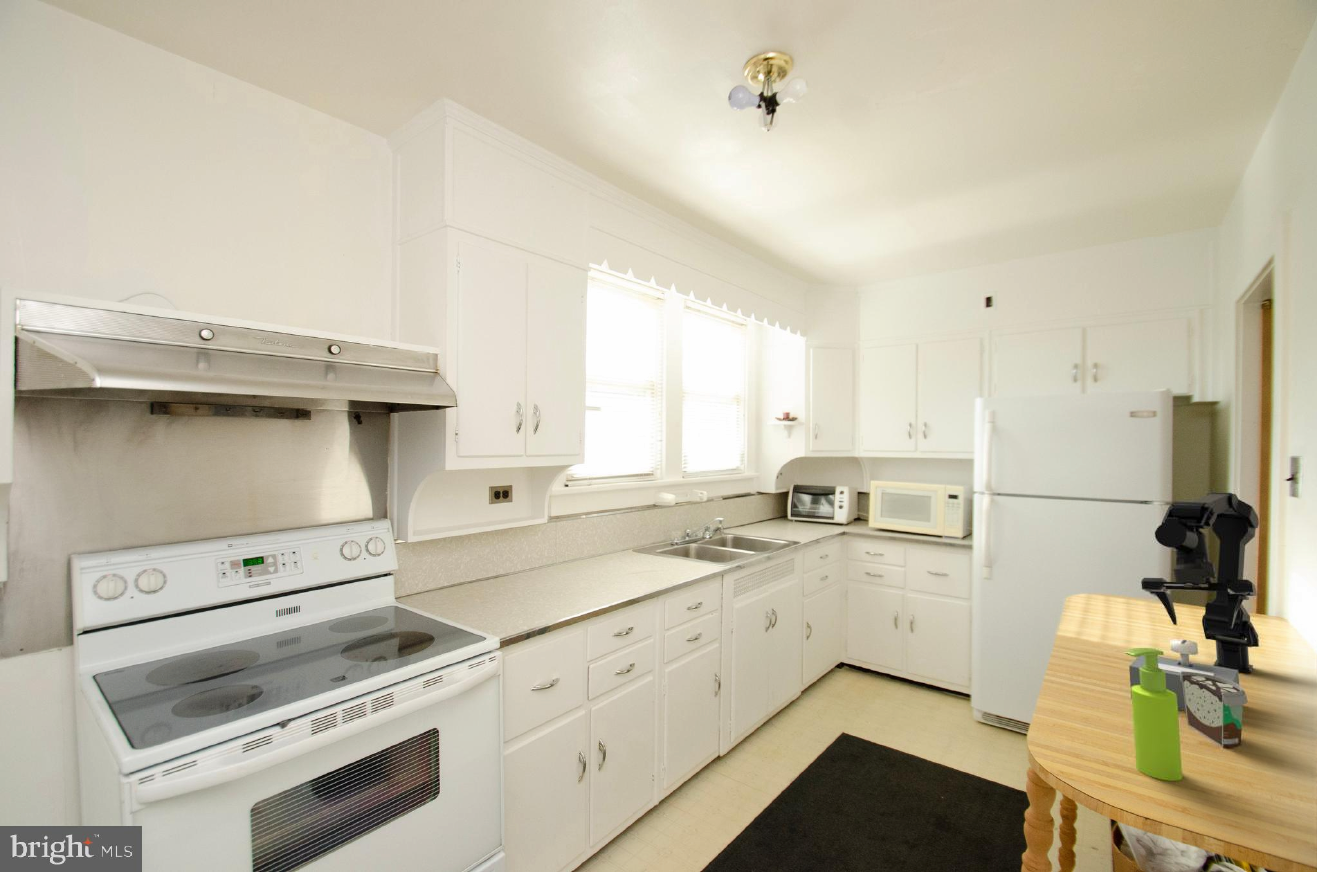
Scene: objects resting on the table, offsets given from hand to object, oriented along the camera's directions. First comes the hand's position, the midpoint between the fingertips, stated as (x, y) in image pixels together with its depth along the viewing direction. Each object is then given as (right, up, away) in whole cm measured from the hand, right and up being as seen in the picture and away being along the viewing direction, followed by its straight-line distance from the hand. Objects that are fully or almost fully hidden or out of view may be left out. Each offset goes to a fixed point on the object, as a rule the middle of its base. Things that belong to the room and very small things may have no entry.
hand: (1202, 626), depth 131 cm
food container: (-15, -14, -21) cm, 30 cm away
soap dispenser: (-37, -14, -32) cm, 51 cm away
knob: (-6, -9, -3) cm, 11 cm away
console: (-8, -14, -5) cm, 17 cm away
